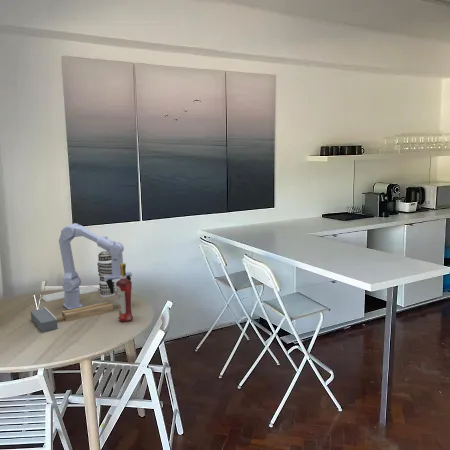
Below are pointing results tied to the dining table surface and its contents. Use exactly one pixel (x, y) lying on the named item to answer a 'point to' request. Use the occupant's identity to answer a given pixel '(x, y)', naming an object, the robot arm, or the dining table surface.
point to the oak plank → (85, 312)
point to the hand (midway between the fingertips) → (119, 292)
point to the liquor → (124, 295)
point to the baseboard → (61, 294)
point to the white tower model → (105, 273)
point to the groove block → (44, 320)
